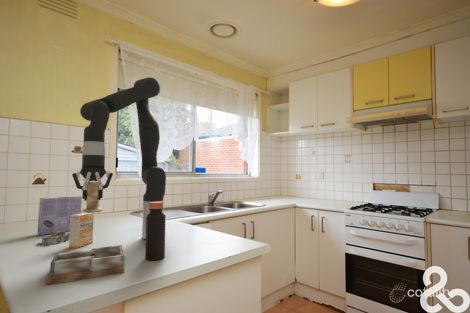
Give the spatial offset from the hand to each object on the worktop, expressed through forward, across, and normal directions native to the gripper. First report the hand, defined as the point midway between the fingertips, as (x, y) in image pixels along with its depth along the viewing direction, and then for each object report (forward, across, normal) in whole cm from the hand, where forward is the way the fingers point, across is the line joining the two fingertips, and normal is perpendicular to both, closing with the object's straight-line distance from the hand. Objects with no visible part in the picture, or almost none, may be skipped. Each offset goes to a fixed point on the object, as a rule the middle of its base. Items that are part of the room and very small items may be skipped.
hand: (92, 199), depth 98 cm
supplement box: (+21, +4, -17) cm, 27 cm away
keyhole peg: (+4, 0, 0) cm, 4 cm away
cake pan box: (+21, +15, -49) cm, 55 cm away
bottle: (+21, -21, +13) cm, 32 cm away
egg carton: (+21, +14, -28) cm, 38 cm away
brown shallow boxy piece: (+20, 0, +15) cm, 25 cm away
